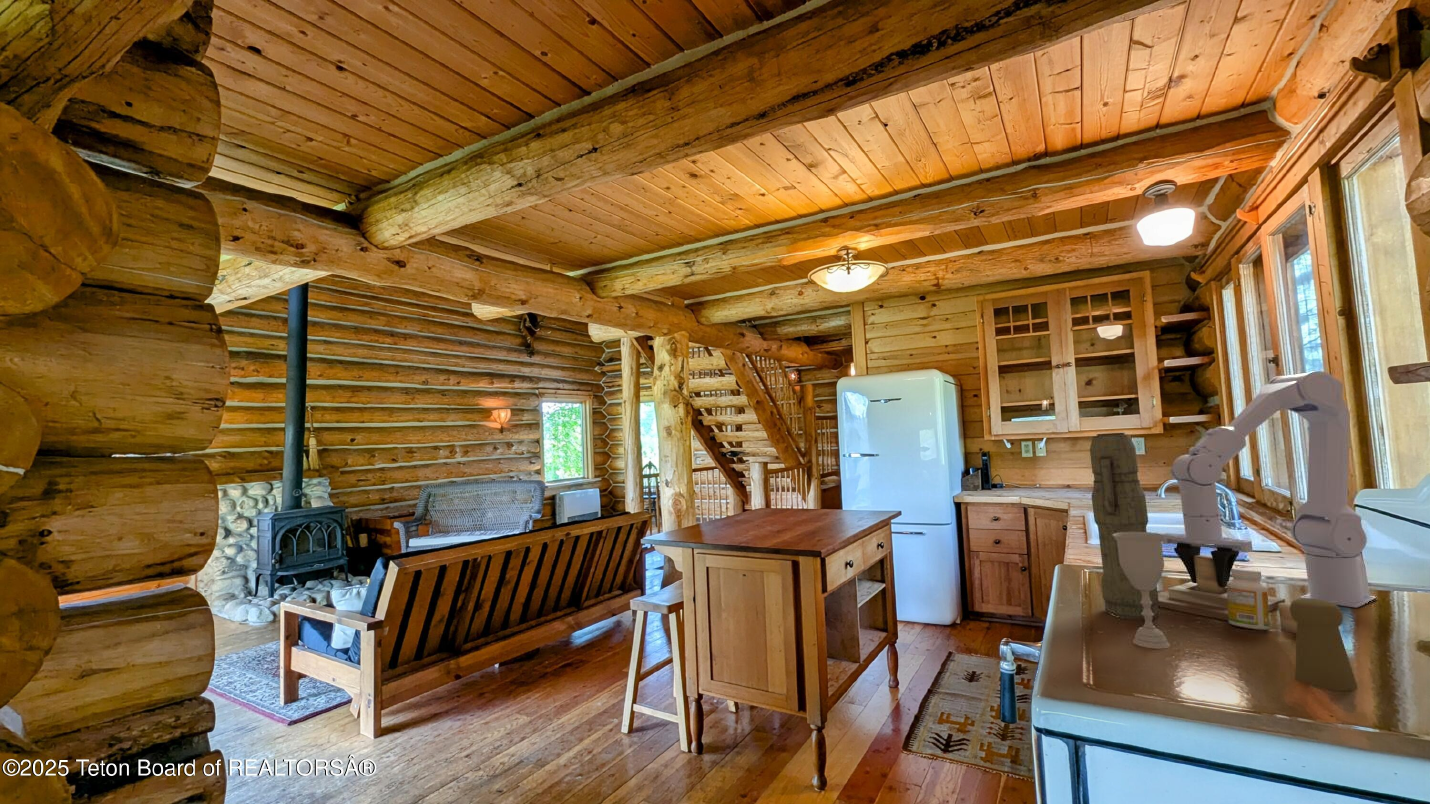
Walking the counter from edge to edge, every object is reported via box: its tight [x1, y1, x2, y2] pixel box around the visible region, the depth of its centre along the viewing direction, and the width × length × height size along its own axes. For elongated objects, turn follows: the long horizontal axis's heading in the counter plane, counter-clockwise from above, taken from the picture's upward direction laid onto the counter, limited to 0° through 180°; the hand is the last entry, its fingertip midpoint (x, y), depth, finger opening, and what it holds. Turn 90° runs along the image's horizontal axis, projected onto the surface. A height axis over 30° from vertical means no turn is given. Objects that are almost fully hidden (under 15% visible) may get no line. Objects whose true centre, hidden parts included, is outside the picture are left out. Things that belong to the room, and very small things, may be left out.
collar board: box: [1158, 581, 1286, 621], centre depth 118 cm, size 17×16×3 cm
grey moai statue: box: [1089, 432, 1160, 621], centre depth 117 cm, size 9×12×35 cm
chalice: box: [1113, 531, 1171, 650], centre depth 101 cm, size 7×7×18 cm
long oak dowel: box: [1193, 554, 1224, 595], centre depth 118 cm, size 4×4×8 cm
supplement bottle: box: [1227, 567, 1270, 631], centre depth 105 cm, size 5×5×10 cm
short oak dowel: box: [1278, 602, 1297, 634], centre depth 102 cm, size 4×4×4 cm
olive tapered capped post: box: [1290, 598, 1358, 692], centre depth 82 cm, size 6×6×11 cm
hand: (1210, 584), depth 118 cm, fingers closed on long oak dowel, 4 cm apart
